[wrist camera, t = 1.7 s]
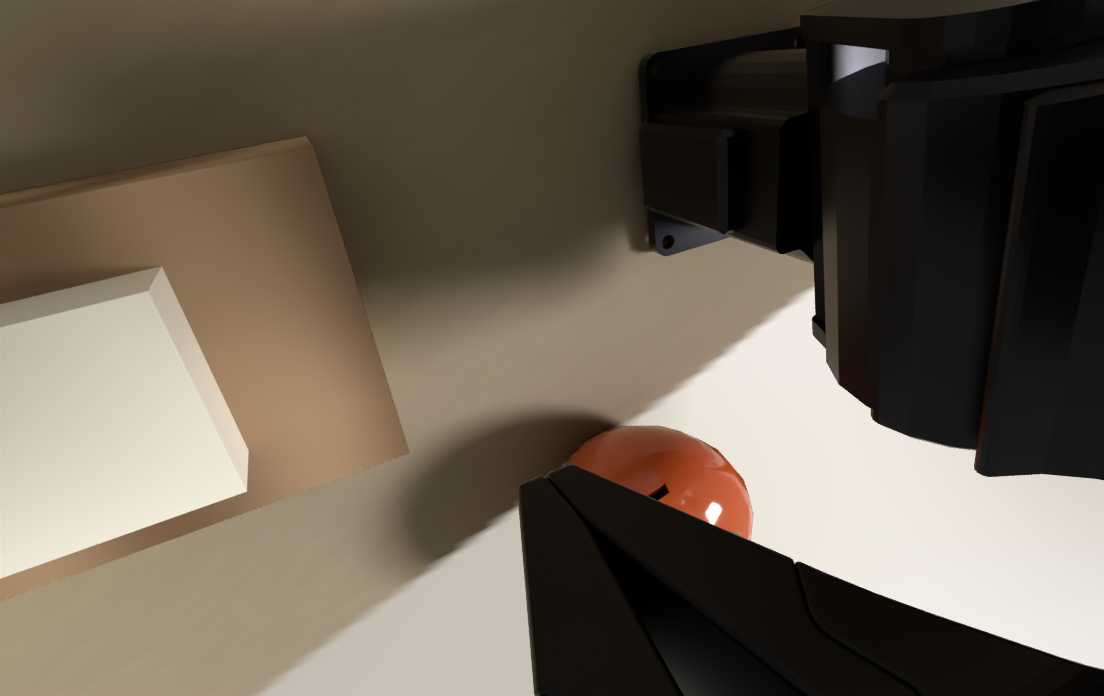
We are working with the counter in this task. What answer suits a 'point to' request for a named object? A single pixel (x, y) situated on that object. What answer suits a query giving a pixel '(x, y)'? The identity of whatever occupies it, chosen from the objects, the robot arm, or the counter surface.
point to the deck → (225, 312)
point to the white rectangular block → (106, 419)
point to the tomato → (671, 473)
